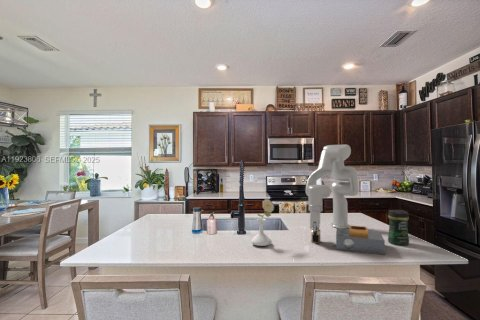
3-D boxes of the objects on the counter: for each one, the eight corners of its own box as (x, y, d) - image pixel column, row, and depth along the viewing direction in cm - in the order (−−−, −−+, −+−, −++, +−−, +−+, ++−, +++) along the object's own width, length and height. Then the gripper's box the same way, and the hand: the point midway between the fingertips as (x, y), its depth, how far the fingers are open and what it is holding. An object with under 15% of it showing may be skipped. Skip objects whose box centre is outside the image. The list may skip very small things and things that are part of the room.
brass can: (311, 240, 147) (311, 225, 147) (320, 241, 146) (320, 226, 146) (310, 242, 143) (310, 228, 143) (320, 243, 141) (320, 228, 141)
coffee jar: (394, 245, 137) (394, 211, 137) (385, 241, 145) (385, 208, 145) (412, 245, 137) (411, 211, 138) (402, 241, 145) (401, 208, 146)
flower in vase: (254, 248, 134) (254, 201, 134) (248, 242, 145) (248, 198, 145) (277, 246, 137) (277, 199, 137) (269, 240, 148) (269, 197, 148)
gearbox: (336, 239, 148) (336, 222, 148) (379, 244, 140) (379, 225, 140) (336, 250, 131) (336, 230, 131) (385, 255, 123) (384, 234, 123)
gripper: (310, 205, 154) (310, 235, 153) (306, 210, 138) (307, 244, 138) (323, 205, 151) (323, 236, 151) (321, 211, 135) (321, 245, 135)
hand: (315, 239), depth 144 cm, fingers closed on brass can, 5 cm apart
